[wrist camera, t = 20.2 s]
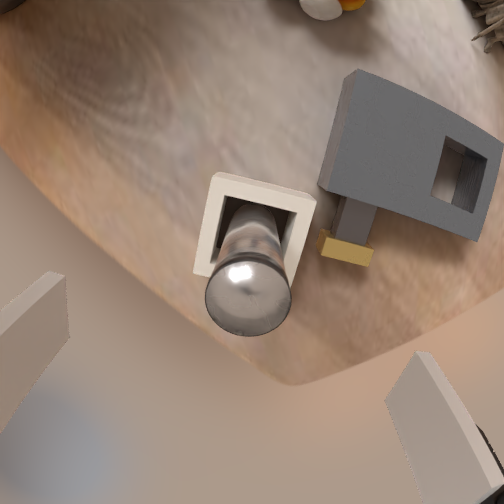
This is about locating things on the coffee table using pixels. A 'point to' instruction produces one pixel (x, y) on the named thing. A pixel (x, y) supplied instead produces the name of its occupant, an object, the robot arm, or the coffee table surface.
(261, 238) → the metal cylinder
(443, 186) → the coffee table surface
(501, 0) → the wizard figurine
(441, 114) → the socket
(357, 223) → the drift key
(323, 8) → the rainbow disc toy
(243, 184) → the frame
